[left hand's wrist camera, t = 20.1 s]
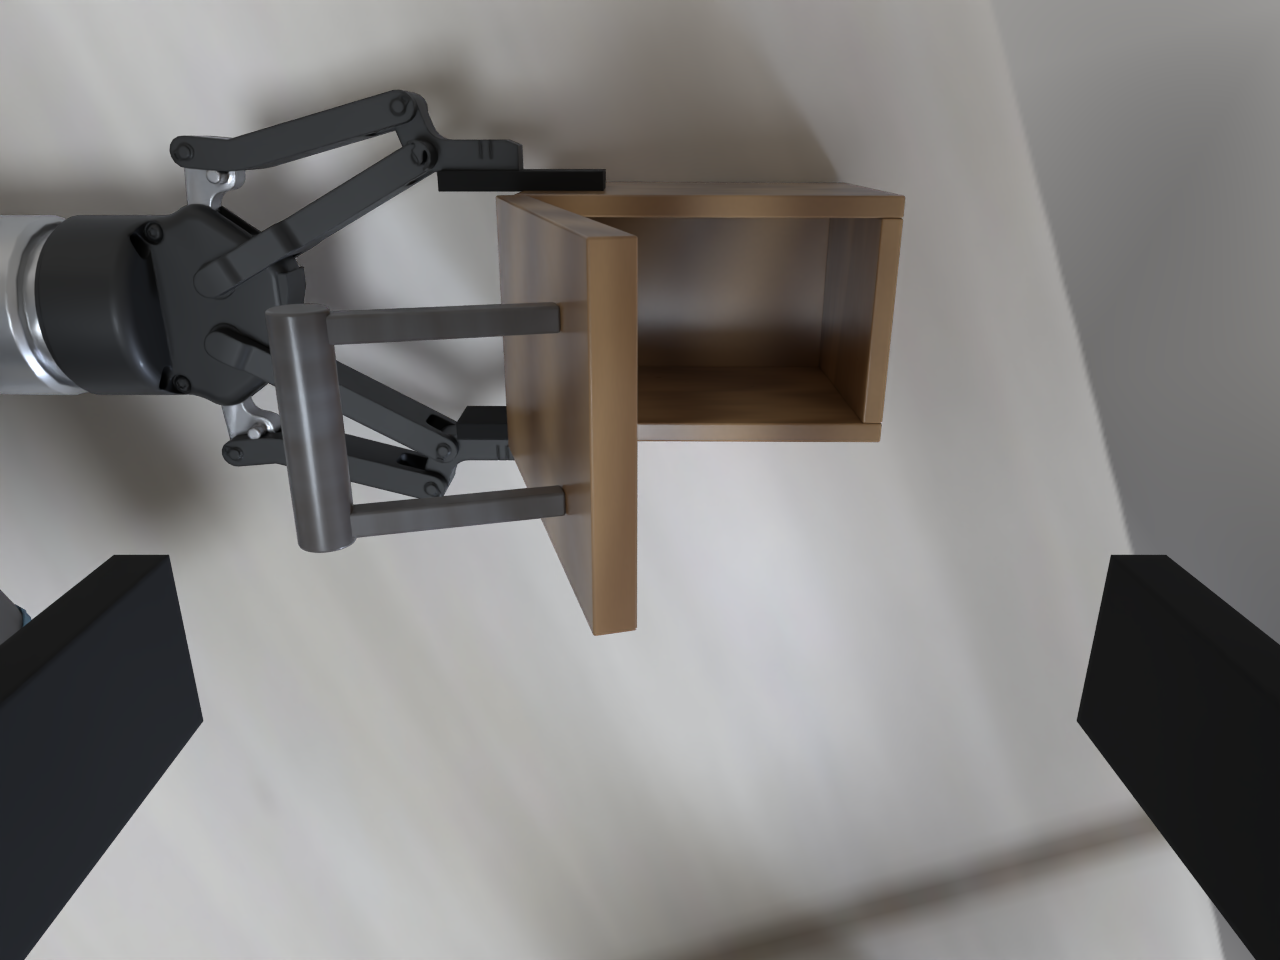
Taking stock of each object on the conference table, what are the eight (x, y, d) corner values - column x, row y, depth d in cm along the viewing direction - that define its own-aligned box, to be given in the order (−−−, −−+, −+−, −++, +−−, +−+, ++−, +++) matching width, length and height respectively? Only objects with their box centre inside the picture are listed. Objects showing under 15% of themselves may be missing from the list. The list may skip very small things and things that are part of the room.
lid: (638, 235, 19) (231, 245, 17) (637, 631, 22) (298, 679, 20) (526, 195, 33) (292, 197, 31) (536, 445, 36) (327, 462, 34)
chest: (845, 182, 43) (906, 195, 33) (829, 378, 46) (880, 442, 37) (542, 181, 43) (513, 194, 33) (549, 377, 46) (524, 441, 37)
